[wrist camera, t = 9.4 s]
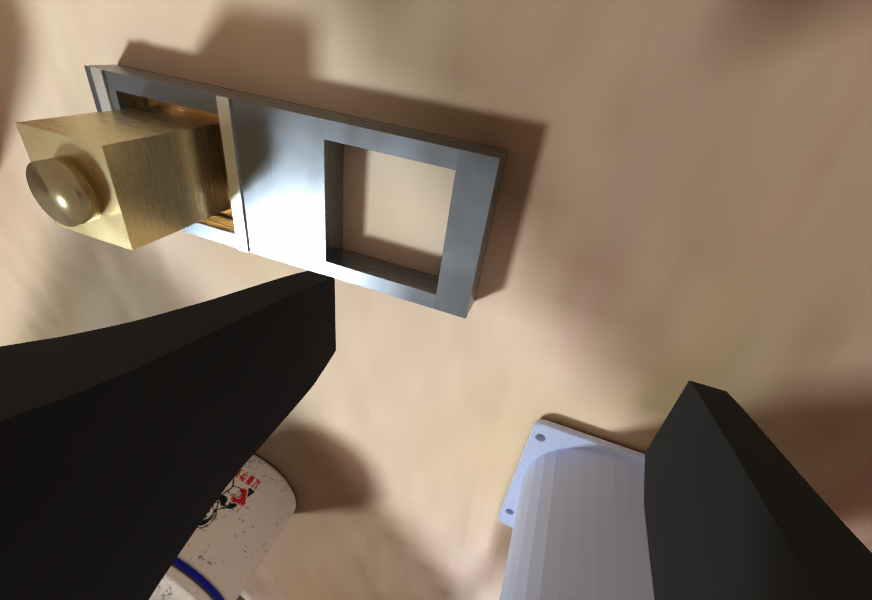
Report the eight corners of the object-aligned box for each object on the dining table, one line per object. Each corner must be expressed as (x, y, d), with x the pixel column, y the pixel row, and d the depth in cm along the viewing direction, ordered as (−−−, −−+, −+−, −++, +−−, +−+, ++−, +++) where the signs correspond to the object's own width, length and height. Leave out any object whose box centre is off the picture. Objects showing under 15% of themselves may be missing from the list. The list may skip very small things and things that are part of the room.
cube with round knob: (239, 204, 21) (113, 258, 16) (176, 186, 22) (34, 232, 17) (228, 120, 19) (77, 150, 14) (158, 104, 20) (-11, 125, 14)
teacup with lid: (275, 448, 32) (139, 614, 23) (315, 524, 36) (214, 692, 27) (170, 434, 37) (20, 567, 27) (216, 503, 41) (99, 639, 31)
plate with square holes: (474, 301, 20) (465, 319, 18) (151, 205, 24) (125, 214, 22) (507, 149, 16) (499, 159, 15) (116, 64, 20) (82, 65, 18)
